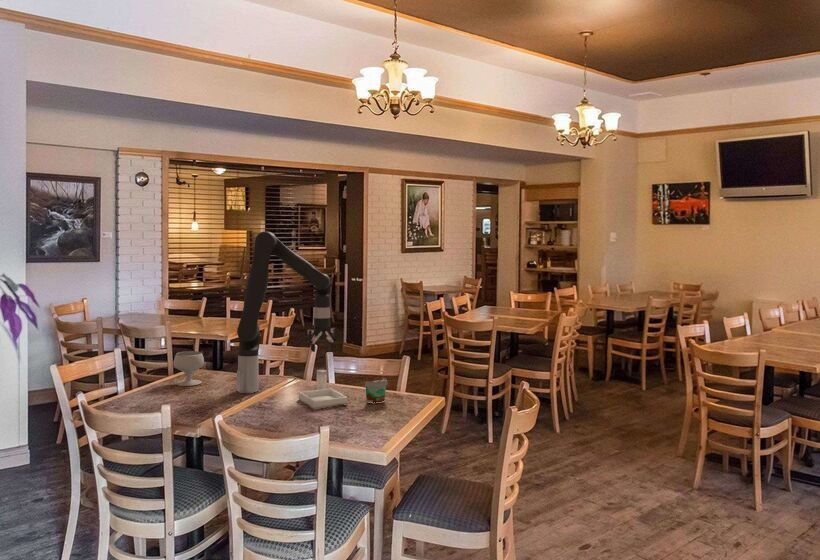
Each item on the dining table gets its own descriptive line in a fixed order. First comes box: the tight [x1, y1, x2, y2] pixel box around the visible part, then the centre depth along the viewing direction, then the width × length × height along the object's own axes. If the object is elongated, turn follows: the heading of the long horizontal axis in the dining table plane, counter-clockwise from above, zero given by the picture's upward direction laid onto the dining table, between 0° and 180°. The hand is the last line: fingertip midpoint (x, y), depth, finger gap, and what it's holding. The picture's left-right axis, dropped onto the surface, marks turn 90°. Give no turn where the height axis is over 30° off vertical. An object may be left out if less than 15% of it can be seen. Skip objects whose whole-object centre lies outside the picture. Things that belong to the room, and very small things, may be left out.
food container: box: [364, 376, 389, 403], centre depth 284 cm, size 12×6×10 cm, turn 143°
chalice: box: [173, 350, 205, 387], centre depth 312 cm, size 14×14×15 cm
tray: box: [298, 388, 349, 410], centre depth 283 cm, size 16×18×4 cm
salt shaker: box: [316, 369, 328, 390], centre depth 301 cm, size 5×5×10 cm
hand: (321, 351), depth 300 cm, fingers open, 8 cm apart
